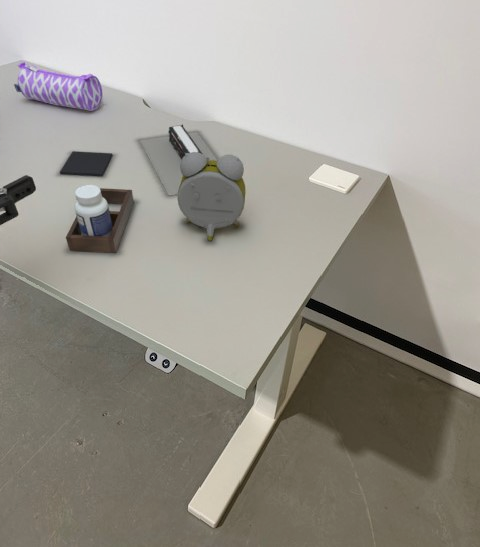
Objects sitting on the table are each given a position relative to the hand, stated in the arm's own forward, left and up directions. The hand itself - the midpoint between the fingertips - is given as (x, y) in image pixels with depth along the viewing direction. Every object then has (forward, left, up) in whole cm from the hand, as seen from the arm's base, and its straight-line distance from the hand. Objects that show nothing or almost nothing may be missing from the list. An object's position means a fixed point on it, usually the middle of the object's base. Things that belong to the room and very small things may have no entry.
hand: (10, 172), depth 55 cm
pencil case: (-18, +65, -19) cm, 70 cm away
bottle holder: (+6, +13, -19) cm, 24 cm away
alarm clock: (+26, +13, -19) cm, 34 cm away
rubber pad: (-3, +34, -19) cm, 39 cm away
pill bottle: (+6, +10, -19) cm, 22 cm away
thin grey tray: (+18, +38, -19) cm, 46 cm away
